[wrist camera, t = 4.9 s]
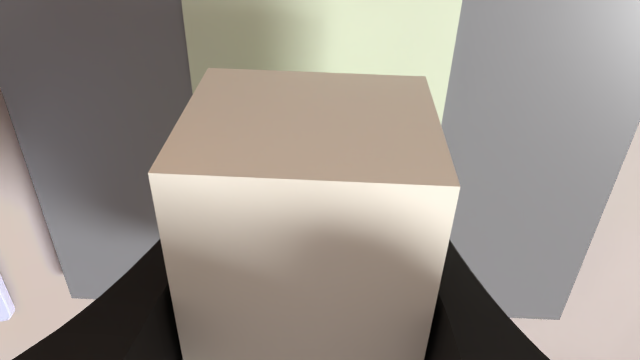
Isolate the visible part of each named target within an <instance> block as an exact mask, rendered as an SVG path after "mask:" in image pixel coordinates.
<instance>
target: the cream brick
mask: <svg viewBox="0 0 640 360" xmlns="http://www.w3.org/2000/svg"><path fill="white" fill-rule="evenodd" d="M148 176H149V182H150V187H151V192H152V198H153V203H154V208H155V214H156V219H157V224H158V230H159V235H160V240H161V246H162V251H163V256H164V261H165V267H166V272H167V277H168V283H169V288H170V293H171V299H172V304H173V309H174V315H175V320H176V325H177V331H178V336H179V341H180V347H181V352H182V357H183V360H424V357H425V353H426V348H427V343H428V339H429V334H430V329H431V324H432V320H433V315H434V310H435V305H436V301H437V296H438V291H439V286H440V282H441V277H442V272H443V267H444V263H445V258H446V253H447V248H448V244H449V239H450V234H451V229H452V225H453V220H454V215H455V210H456V206H457V201H458V196H459V191H460V184H459V180H458V177H457V174H456V171H455V168H454V165H453V161H452V158H451V155H450V152H449V149H448V146H447V143H446V139H445V136H444V133H443V130H442V127H441V124H440V120H439V117H438V114H437V111H436V108H435V105H434V101H433V98H432V95H431V92H430V89H429V86H428V83H427V79H426V76H402V75H377V74H352V73H326V72H301V71H276V70H250V69H225V68H208V69H207V71H206V72H205V74H204V76H203V78H202V79H201V81H200V83H199V85H198V86H197V88H196V90H195V92H194V93H193V95H192V97H191V99H190V100H189V102H188V104H187V106H186V107H185V109H184V111H183V113H182V114H181V116H180V118H179V120H178V121H177V123H176V125H175V126H174V128H173V130H172V132H171V133H170V135H169V137H168V139H167V140H166V142H165V144H164V146H163V147H162V149H161V151H160V153H159V154H158V156H157V158H156V160H155V161H154V163H153V165H152V167H151V168H150V170H149V172H148Z"/></svg>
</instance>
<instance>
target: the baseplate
mask: <svg viewBox="0 0 640 360" xmlns="http://www.w3.org/2000/svg"><path fill="white" fill-rule="evenodd" d="M208 68H225V69H250V70H276V71H301V72H326V73H352V74H377V75H402V76H426V79H427V83H428V86H429V89H430V92H431V95H432V98H433V101H434V105H435V108H436V111H437V114H438V117H439V120H440V124H441V127H442V130H443V133H444V136H445V139H446V143H447V146H448V149H449V152H450V155H451V158H452V161H453V165H454V168H455V171H456V174H457V177H458V180H459V184H460V191H459V196H458V201H457V206H456V210H455V215H454V220H453V225H452V229H451V234H450V240H451V242H452V243H453V245H454V246H455V248H456V249H457V251H458V252H459V254H460V255H461V257H462V258H463V260H464V261H465V262H466V264H467V265H468V267H469V268H470V269H471V271H472V272H473V273H474V275H475V276H476V277H477V279H478V280H479V281H480V283H481V284H482V285H483V287H484V288H485V289H486V291H487V292H488V293H489V294H490V295H491V297H492V298H493V299H494V300H495V302H496V303H497V304H498V305H499V306H500V308H501V309H502V310H503V311H504V312H505V313H506V315H507V316H508V317H509V318H530V319H552V320H560V317H561V315H562V312H563V310H564V307H565V305H566V302H567V300H568V297H569V295H570V292H571V290H572V288H573V285H574V283H575V280H576V278H577V275H578V273H579V270H580V268H581V265H582V263H583V260H584V258H585V255H586V253H587V250H588V248H589V246H590V243H591V241H592V238H593V236H594V233H595V231H596V228H597V226H598V223H599V221H600V218H601V216H602V213H603V211H604V208H605V206H606V203H607V201H608V199H609V196H610V194H611V191H612V189H613V186H614V184H615V181H616V179H617V176H618V174H619V171H620V169H621V166H622V164H623V161H624V159H625V157H626V154H627V152H628V149H629V147H630V144H631V142H632V139H633V137H634V134H635V132H636V129H637V127H638V124H639V122H640V0H0V88H1V91H2V94H3V97H4V100H5V103H6V106H7V109H8V112H9V115H10V118H11V121H12V124H13V127H14V129H15V132H16V135H17V138H18V141H19V144H20V147H21V150H22V153H23V156H24V159H25V162H26V165H27V168H28V171H29V174H30V177H31V180H32V182H33V185H34V188H35V191H36V194H37V197H38V200H39V203H40V206H41V209H42V212H43V215H44V218H45V221H46V224H47V227H48V230H49V232H50V235H51V238H52V241H53V244H54V247H55V250H56V253H57V256H58V259H59V262H60V265H61V268H62V271H63V274H64V277H65V280H66V282H67V285H68V288H69V291H70V294H71V297H72V298H81V299H97V298H98V297H99V296H101V295H102V294H103V293H104V292H105V291H106V290H107V289H108V288H110V287H111V286H112V285H113V284H114V283H115V282H116V281H117V280H118V279H120V278H121V277H122V276H123V275H124V274H125V273H126V272H127V271H128V270H129V269H130V268H131V267H132V266H133V265H134V264H135V263H136V262H137V261H138V260H139V259H140V258H141V257H142V256H143V255H144V254H145V253H146V252H147V251H149V250H150V248H151V247H152V246H153V245H154V244H155V243H156V242H157V241H158V240H159V239H160V235H159V230H158V224H157V219H156V214H155V208H154V203H153V198H152V192H151V187H150V182H149V176H148V172H149V170H150V168H151V167H152V165H153V163H154V161H155V160H156V158H157V156H158V154H159V153H160V151H161V149H162V147H163V146H164V144H165V142H166V140H167V139H168V137H169V135H170V133H171V132H172V130H173V128H174V126H175V125H176V123H177V121H178V120H179V118H180V116H181V114H182V113H183V111H184V109H185V107H186V106H187V104H188V102H189V100H190V99H191V97H192V95H193V93H194V92H195V90H196V88H197V86H198V85H199V83H200V81H201V79H202V78H203V76H204V74H205V72H206V71H207V69H208Z"/></svg>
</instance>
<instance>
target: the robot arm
mask: <svg viewBox="0 0 640 360" xmlns="http://www.w3.org/2000/svg"><path fill="white" fill-rule="evenodd" d="M14 312H15V307H14V305H13V302H12V300H11V298H10V295H9V293H8V291H7V288H6V286H5V284H4V281H3V279H2V277H1V275H0V321H7V320H9V319H10V318H11V316H12V315H13V313H14ZM12 360H183V357H182V352H181V347H180V341H179V336H178V331H177V325H176V320H175V315H174V309H173V304H172V299H171V293H170V288H169V283H168V277H167V272H166V267H165V261H164V256H163V251H162V246H161V240H160V239H159V240H158V241H157V242H156V243H155V244H154V245H153V246H152V247H151V248H150V250H149V251H147V252H146V253H145V254H144V255H143V256H142V257H141V258H140V259H139V260H138V261H137V262H136V263H135V264H134V265H133V266H132V267H131V268H130V269H129V270H128V271H127V272H126V273H125V274H124V275H123V276H122V277H121V278H120V279H118V280H117V281H116V282H115V283H114V284H113V285H112V286H111V287H110V288H108V289H107V290H106V291H105V292H104V293H103V294H102V295H101V296H99V297H98V298H97V299H96V300H95V301H94V302H92V303H91V304H90V305H89V306H87V307H86V308H85V309H84V310H83V311H81V312H80V313H79V314H78V315H76V316H75V317H74V318H72V319H71V320H70V321H68V322H67V323H66V324H64V325H63V326H62V327H60V328H59V329H57V330H56V331H55V332H53V333H52V334H50V335H49V336H47V337H46V338H44V339H43V340H41V341H40V342H38V343H37V344H35V345H34V346H32V347H31V348H29V349H28V350H26V351H25V352H23V353H22V354H20V355H18V356H17V357H15V358H14V359H12ZM424 360H550V359H549V358H548V357H547V356H546V355H544V354H543V353H542V352H541V351H540V350H539V349H538V348H537V347H536V346H535V345H534V344H533V343H532V342H531V341H530V340H529V339H528V338H527V337H526V335H525V334H524V333H523V332H522V331H521V330H520V329H519V328H518V327H517V326H516V325H515V324H514V323H513V321H512V320H511V319H510V318H509V317H508V316H507V315H506V313H505V312H504V311H503V310H502V309H501V308H500V306H499V305H498V304H497V303H496V302H495V300H494V299H493V298H492V297H491V295H490V294H489V293H488V292H487V291H486V289H485V288H484V287H483V285H482V284H481V283H480V281H479V280H478V279H477V277H476V276H475V275H474V273H473V272H472V271H471V269H470V268H469V267H468V265H467V264H466V262H465V261H464V260H463V258H462V257H461V255H460V254H459V252H458V251H457V249H456V248H455V246H454V245H453V243H452V242H451V240H450V239H449V244H448V248H447V253H446V258H445V263H444V267H443V272H442V277H441V282H440V286H439V291H438V296H437V301H436V305H435V310H434V315H433V320H432V324H431V329H430V334H429V339H428V343H427V348H426V353H425V357H424Z"/></svg>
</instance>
